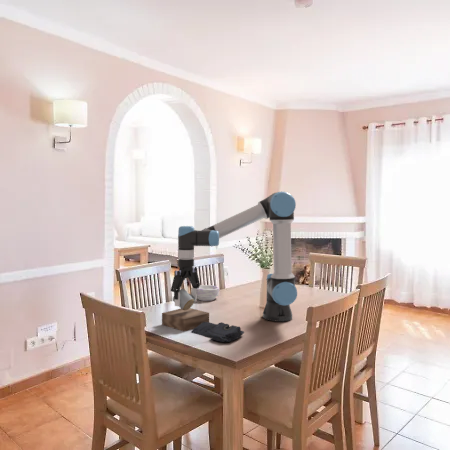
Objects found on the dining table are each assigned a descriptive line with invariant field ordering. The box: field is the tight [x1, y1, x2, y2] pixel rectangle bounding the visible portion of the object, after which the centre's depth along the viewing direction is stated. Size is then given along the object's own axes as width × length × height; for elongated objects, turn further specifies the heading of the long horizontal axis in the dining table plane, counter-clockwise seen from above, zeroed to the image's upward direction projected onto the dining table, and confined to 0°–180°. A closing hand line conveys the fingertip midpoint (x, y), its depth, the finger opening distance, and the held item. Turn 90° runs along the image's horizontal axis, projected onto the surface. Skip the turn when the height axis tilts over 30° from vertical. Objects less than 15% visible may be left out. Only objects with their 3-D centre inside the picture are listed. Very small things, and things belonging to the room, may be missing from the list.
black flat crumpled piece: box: [190, 321, 245, 343], centre depth 189 cm, size 15×22×5 cm
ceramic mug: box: [172, 288, 196, 310], centre depth 201 cm, size 11×8×8 cm
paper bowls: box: [197, 284, 220, 302], centre depth 255 cm, size 15×15×8 cm
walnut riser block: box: [161, 307, 210, 332], centre depth 202 cm, size 16×16×6 cm
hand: (185, 303), depth 202 cm, fingers closed on ceramic mug, 11 cm apart
